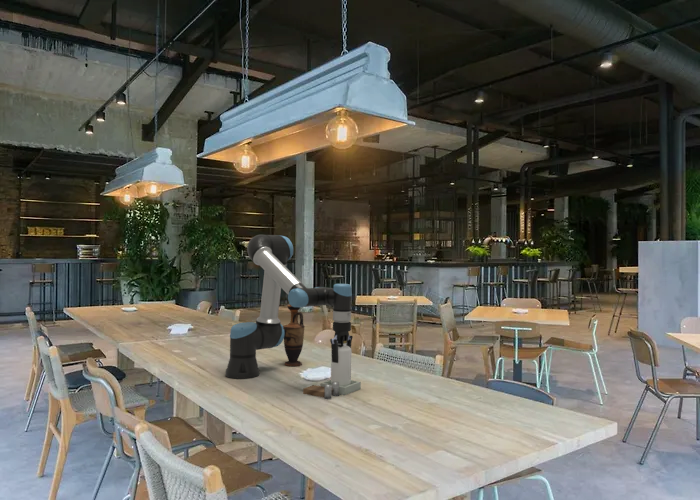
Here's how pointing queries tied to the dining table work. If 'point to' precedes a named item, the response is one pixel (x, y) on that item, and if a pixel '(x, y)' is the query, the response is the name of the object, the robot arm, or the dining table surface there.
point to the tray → (346, 387)
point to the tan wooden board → (314, 391)
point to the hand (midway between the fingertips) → (340, 378)
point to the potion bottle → (342, 366)
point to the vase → (294, 337)
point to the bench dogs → (331, 390)
